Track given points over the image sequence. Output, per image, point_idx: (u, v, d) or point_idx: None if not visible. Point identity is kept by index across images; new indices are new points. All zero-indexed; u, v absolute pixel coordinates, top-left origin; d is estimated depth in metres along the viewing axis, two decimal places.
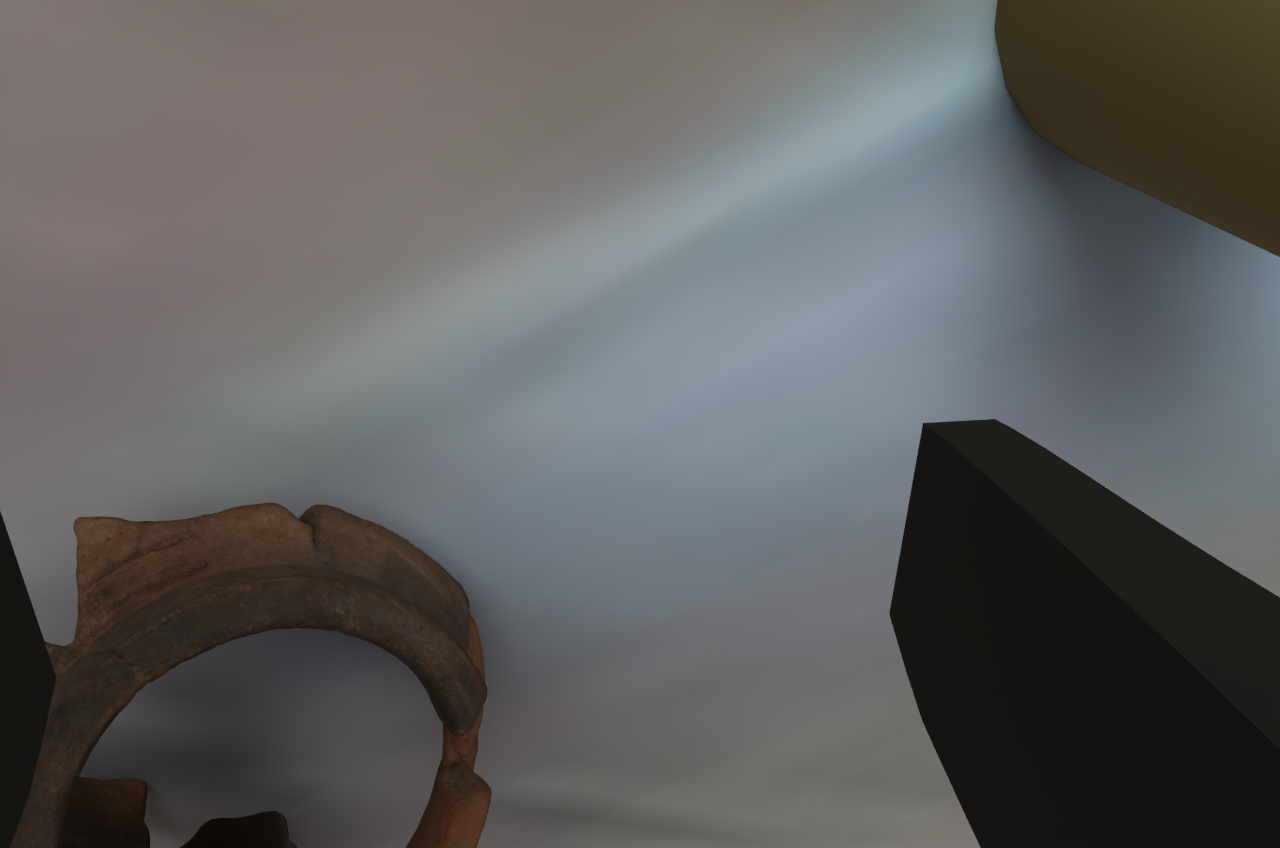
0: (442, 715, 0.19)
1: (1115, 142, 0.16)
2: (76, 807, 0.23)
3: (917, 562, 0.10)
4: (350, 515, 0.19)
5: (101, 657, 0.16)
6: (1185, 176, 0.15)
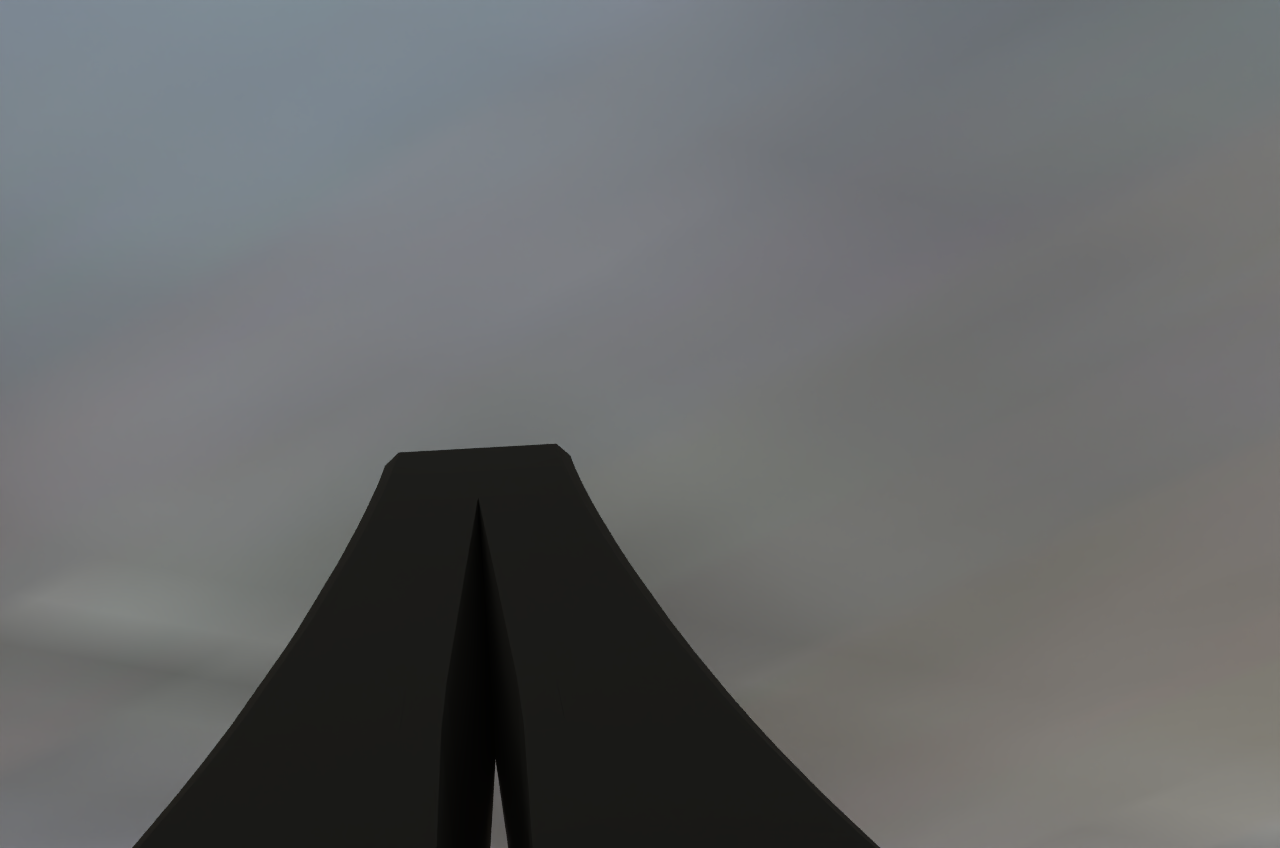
0: None
1: None
2: None
3: None
4: None
5: None
6: None
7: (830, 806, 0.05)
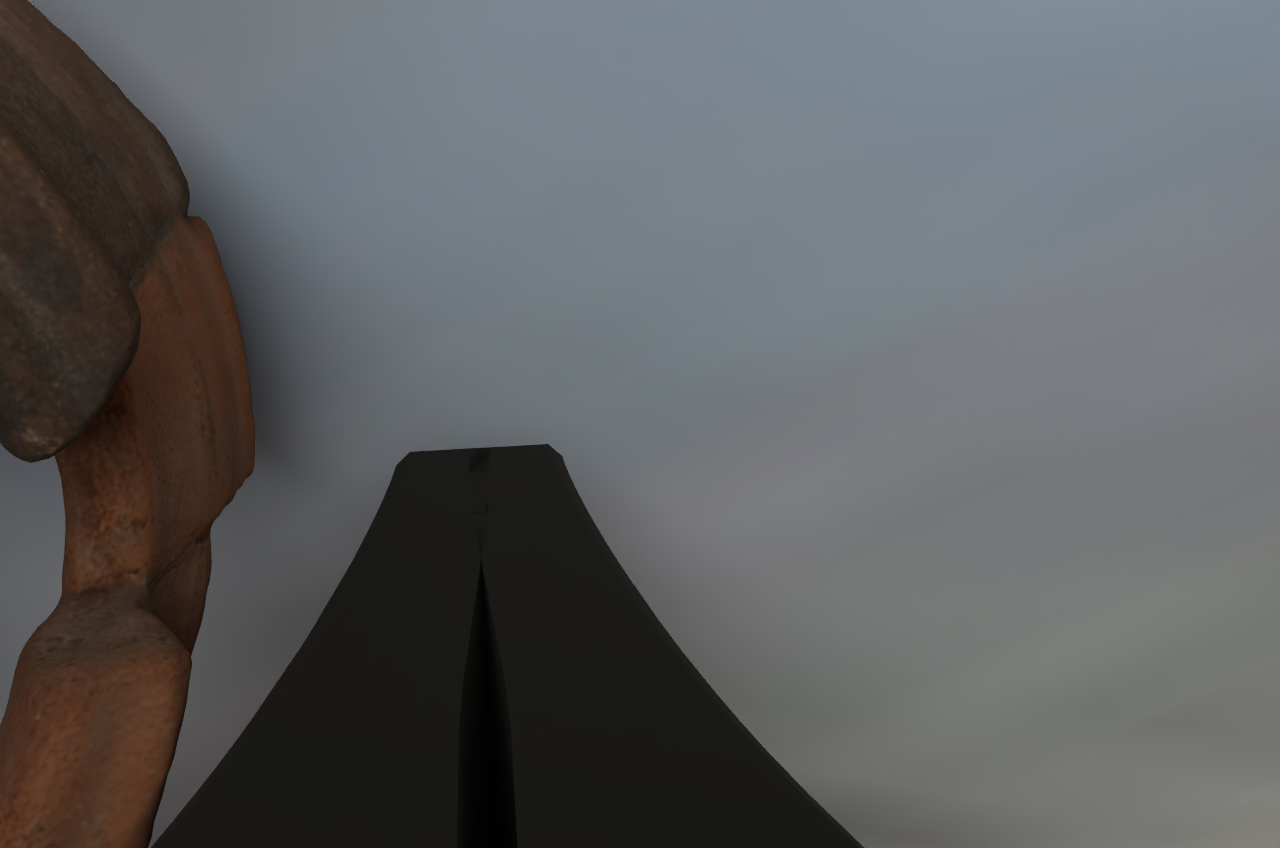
0: None
1: None
2: None
3: None
4: None
5: None
6: None
7: (816, 808, 0.05)
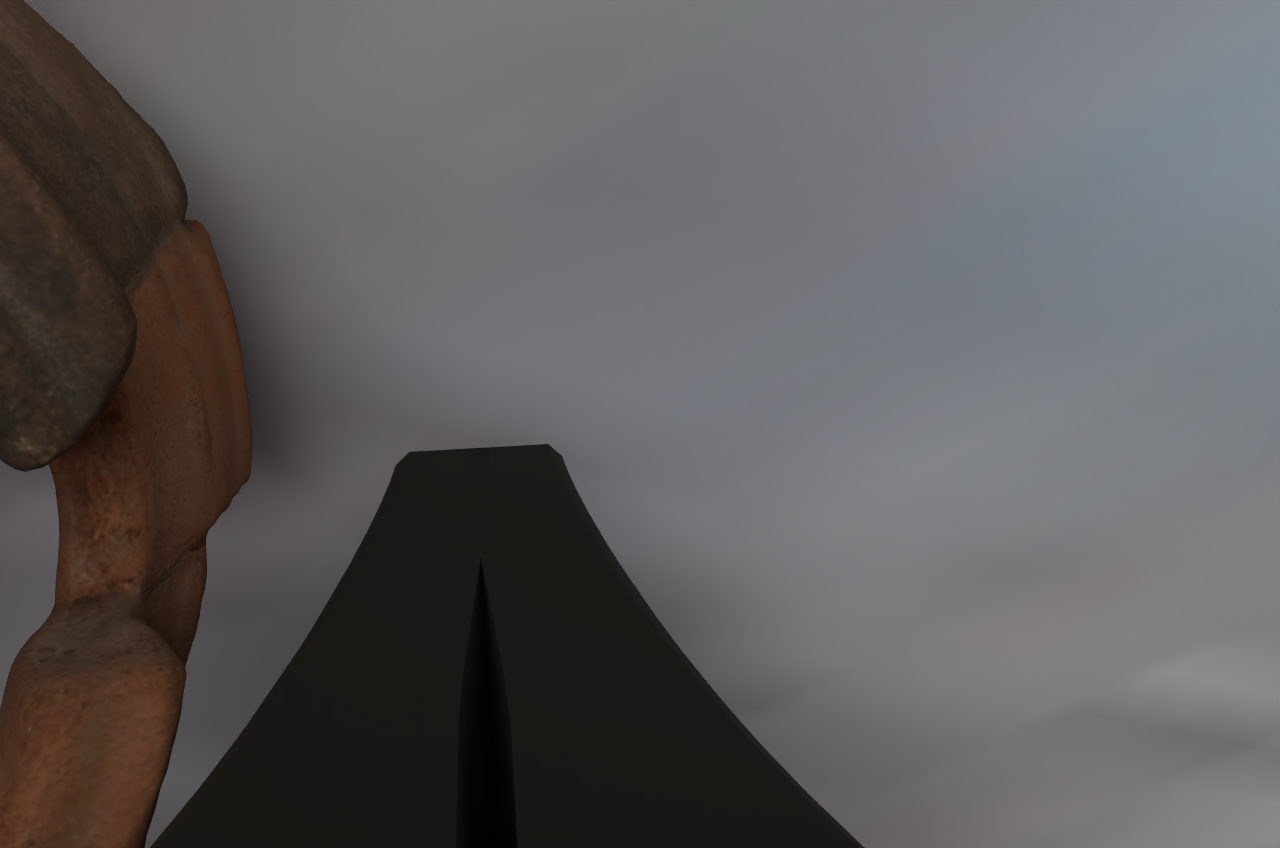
0: None
1: None
2: None
3: None
4: None
5: None
6: None
7: (816, 808, 0.05)
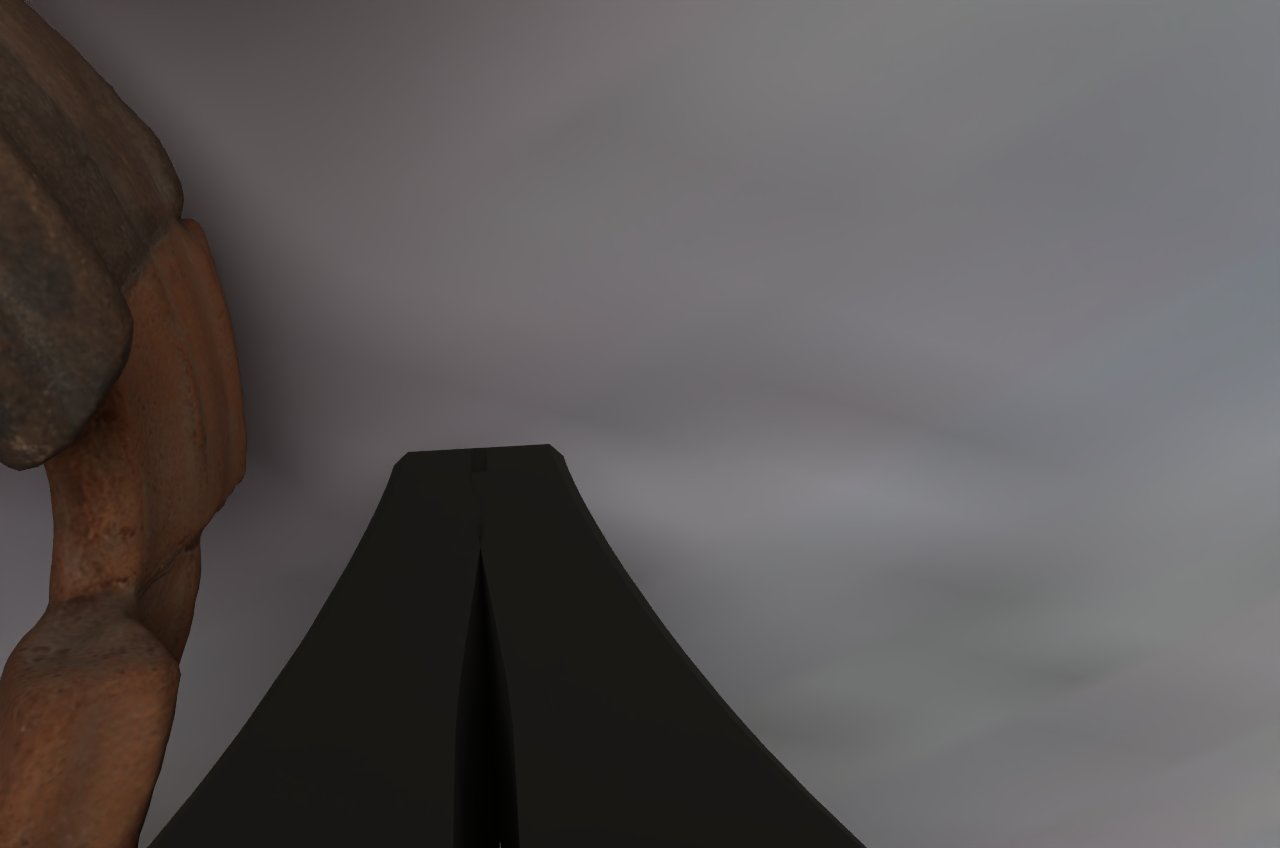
0: None
1: None
2: None
3: None
4: None
5: None
6: None
7: (818, 808, 0.05)
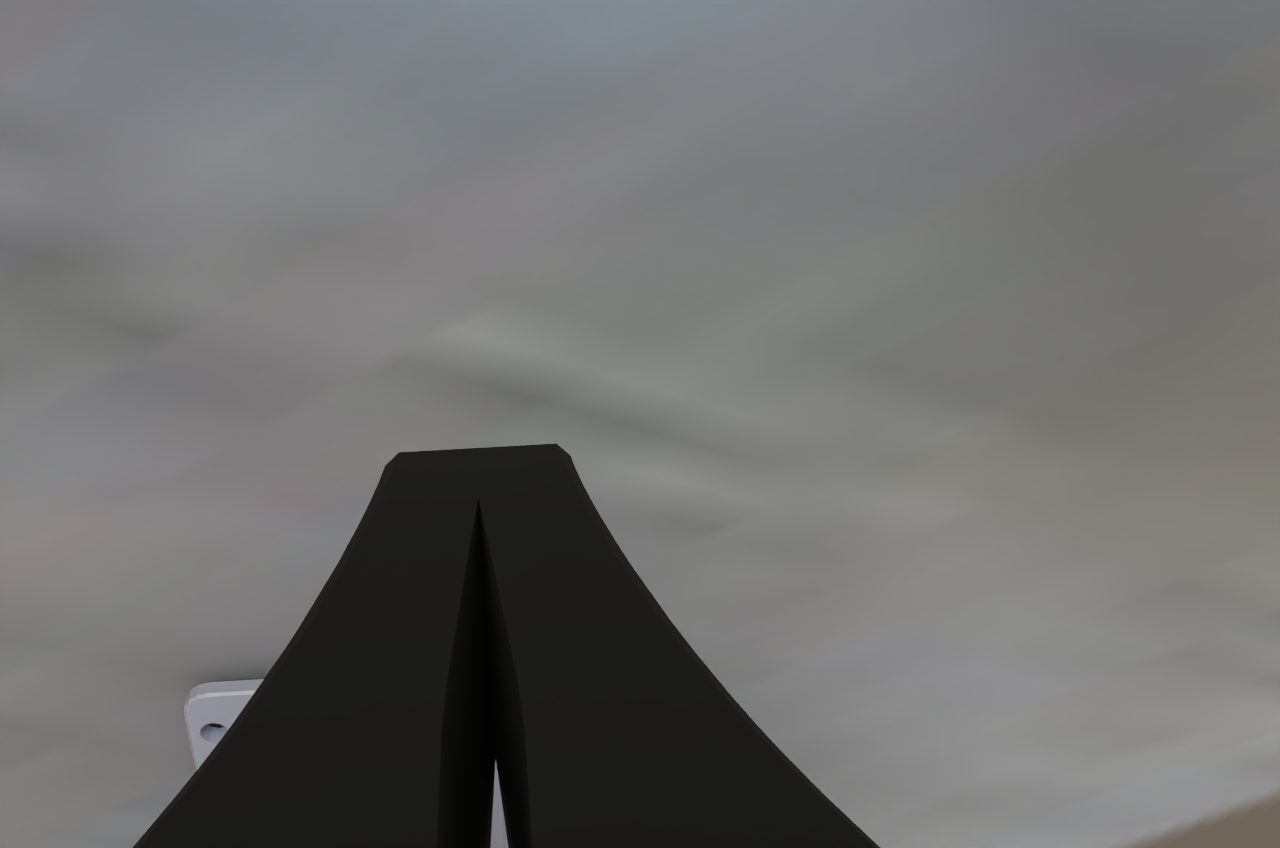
0: None
1: None
2: None
3: None
4: None
5: None
6: None
7: (830, 807, 0.05)
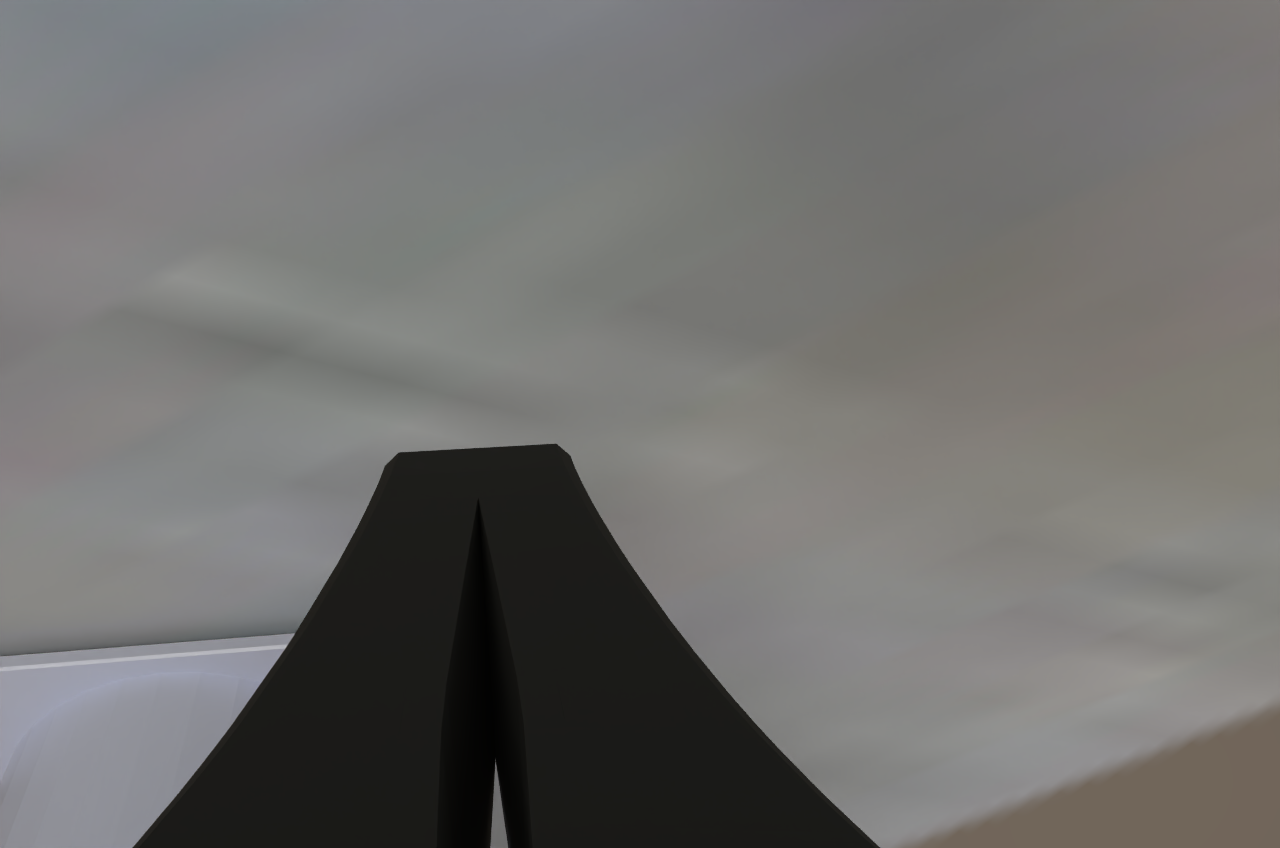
0: None
1: None
2: None
3: None
4: None
5: None
6: None
7: (830, 806, 0.05)
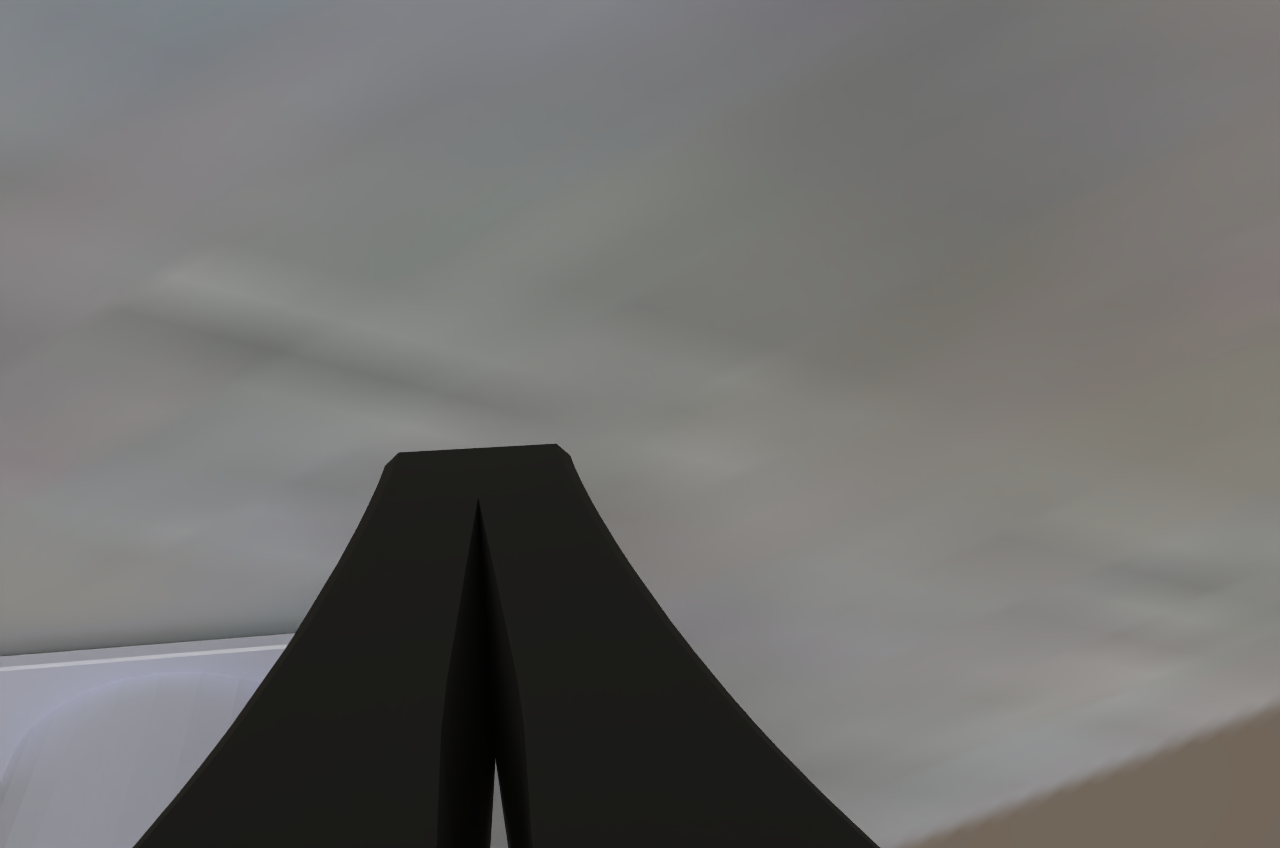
0: None
1: None
2: None
3: None
4: None
5: None
6: None
7: (830, 806, 0.05)
